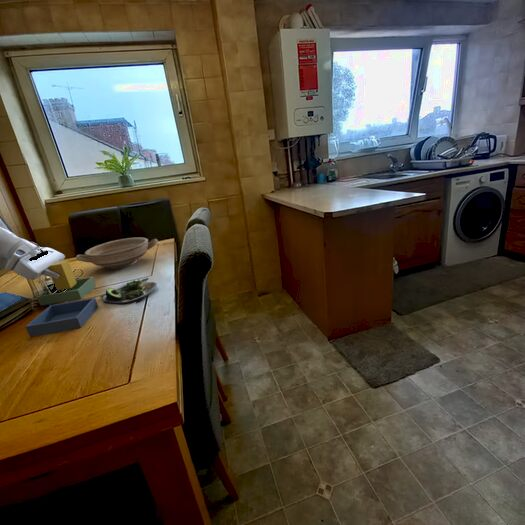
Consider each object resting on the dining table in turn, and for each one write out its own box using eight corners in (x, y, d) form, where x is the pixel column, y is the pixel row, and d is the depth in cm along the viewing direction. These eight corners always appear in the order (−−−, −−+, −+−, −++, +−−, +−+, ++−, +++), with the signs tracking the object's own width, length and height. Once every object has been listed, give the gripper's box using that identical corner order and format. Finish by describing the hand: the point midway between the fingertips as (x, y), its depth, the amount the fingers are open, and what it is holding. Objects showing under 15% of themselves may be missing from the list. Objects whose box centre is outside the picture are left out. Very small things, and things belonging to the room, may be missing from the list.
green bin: (41, 307, 102) (36, 297, 101) (59, 292, 114) (56, 282, 113) (81, 300, 104) (77, 290, 102) (96, 286, 116) (92, 276, 114)
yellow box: (57, 290, 105) (46, 266, 102) (63, 285, 110) (54, 261, 106) (70, 288, 106) (61, 263, 102) (76, 283, 110) (67, 259, 107)
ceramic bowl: (158, 249, 160) (154, 232, 156) (164, 262, 135) (159, 242, 132) (86, 265, 146) (79, 247, 143) (77, 283, 122) (69, 262, 118)
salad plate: (133, 281, 116) (130, 271, 114) (168, 282, 110) (166, 272, 108) (94, 304, 99) (89, 293, 97) (133, 307, 93) (130, 295, 91)
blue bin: (31, 339, 81) (25, 326, 80) (55, 316, 94) (50, 305, 92) (82, 329, 83) (77, 317, 81) (99, 308, 95) (95, 297, 94)
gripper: (38, 252, 112) (72, 270, 116) (1, 270, 93) (44, 291, 97) (45, 239, 111) (80, 258, 115) (10, 255, 92) (53, 277, 96)
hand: (63, 273), depth 106 cm, fingers closed on yellow box, 5 cm apart
